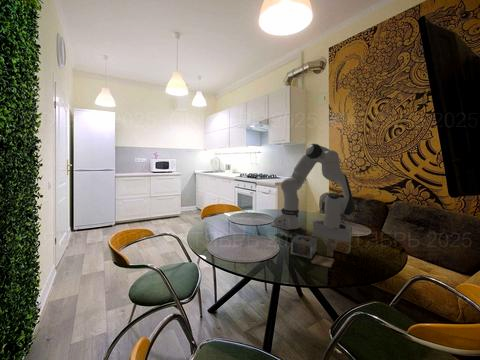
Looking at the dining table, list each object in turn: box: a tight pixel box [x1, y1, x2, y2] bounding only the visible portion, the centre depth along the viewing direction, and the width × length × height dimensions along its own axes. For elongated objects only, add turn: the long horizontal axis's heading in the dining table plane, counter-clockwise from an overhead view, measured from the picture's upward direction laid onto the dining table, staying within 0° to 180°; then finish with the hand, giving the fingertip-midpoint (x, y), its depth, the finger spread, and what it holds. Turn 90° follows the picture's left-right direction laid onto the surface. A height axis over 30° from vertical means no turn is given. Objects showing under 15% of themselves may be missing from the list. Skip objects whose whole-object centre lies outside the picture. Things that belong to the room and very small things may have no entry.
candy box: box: [333, 226, 353, 255], centre depth 138 cm, size 9×4×15 cm, turn 50°
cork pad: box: [310, 254, 335, 268], centre depth 125 cm, size 10×10×1 cm
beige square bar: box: [326, 238, 334, 258], centre depth 132 cm, size 3×3×16 cm
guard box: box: [290, 233, 318, 260], centre depth 136 cm, size 12×12×8 cm
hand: (330, 246), depth 132 cm, fingers closed on beige square bar, 3 cm apart
